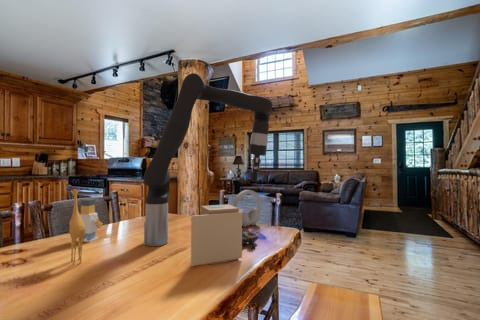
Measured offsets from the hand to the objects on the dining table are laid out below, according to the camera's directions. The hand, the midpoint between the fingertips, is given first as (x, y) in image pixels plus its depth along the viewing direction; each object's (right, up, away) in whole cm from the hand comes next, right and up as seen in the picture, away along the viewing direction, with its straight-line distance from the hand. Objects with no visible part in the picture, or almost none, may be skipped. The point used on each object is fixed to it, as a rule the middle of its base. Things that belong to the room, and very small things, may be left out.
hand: (253, 180), depth 114 cm
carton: (-14, -27, -20) cm, 36 cm away
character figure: (-73, -27, 0) cm, 78 cm away
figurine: (-7, -27, +2) cm, 28 cm away
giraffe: (-64, -26, -24) cm, 73 cm away
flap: (-14, -25, -27) cm, 39 cm away
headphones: (-2, -28, +29) cm, 40 cm away
